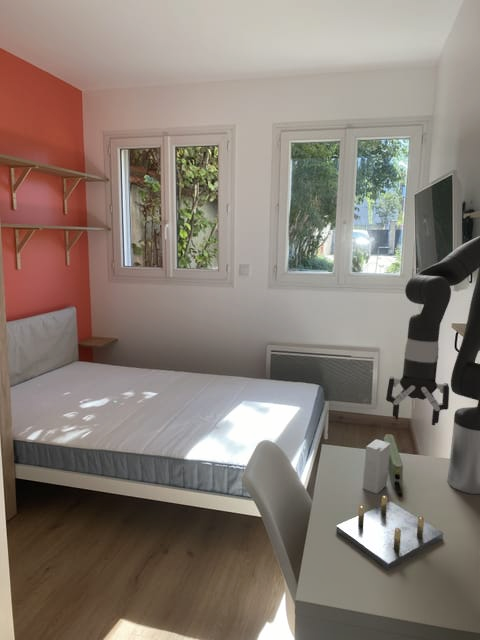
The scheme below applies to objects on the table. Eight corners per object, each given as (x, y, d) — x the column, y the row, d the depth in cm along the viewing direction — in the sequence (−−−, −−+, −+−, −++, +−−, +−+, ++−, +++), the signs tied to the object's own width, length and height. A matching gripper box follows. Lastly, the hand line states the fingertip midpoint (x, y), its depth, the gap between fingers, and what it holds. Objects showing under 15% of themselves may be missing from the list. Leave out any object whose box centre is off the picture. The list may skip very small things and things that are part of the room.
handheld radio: (393, 455, 137) (407, 500, 113) (382, 454, 138) (393, 499, 114) (394, 434, 136) (408, 475, 112) (383, 433, 137) (394, 474, 113)
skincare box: (371, 479, 122) (375, 437, 120) (387, 485, 119) (391, 442, 117) (361, 488, 118) (364, 445, 115) (377, 495, 115) (381, 450, 113)
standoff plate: (389, 507, 110) (391, 486, 109) (442, 539, 98) (445, 516, 97) (336, 531, 100) (337, 509, 99) (387, 570, 88) (390, 545, 87)
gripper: (451, 358, 111) (444, 421, 113) (391, 351, 116) (385, 412, 118) (454, 364, 104) (446, 431, 106) (389, 357, 109) (383, 421, 111)
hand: (414, 421), depth 112 cm, fingers open, 8 cm apart
